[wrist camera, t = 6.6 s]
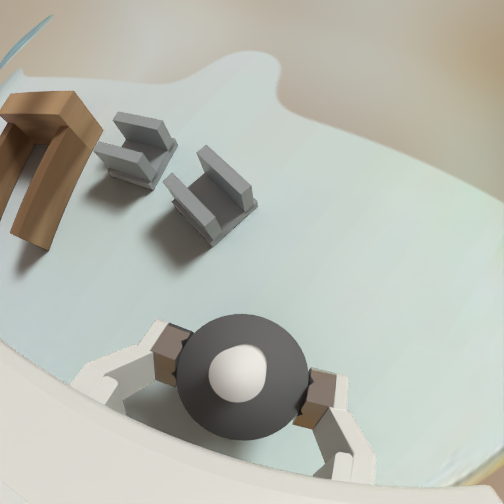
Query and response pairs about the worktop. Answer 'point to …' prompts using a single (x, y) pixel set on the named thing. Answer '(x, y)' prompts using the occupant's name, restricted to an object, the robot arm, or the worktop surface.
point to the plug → (242, 377)
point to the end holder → (44, 157)
